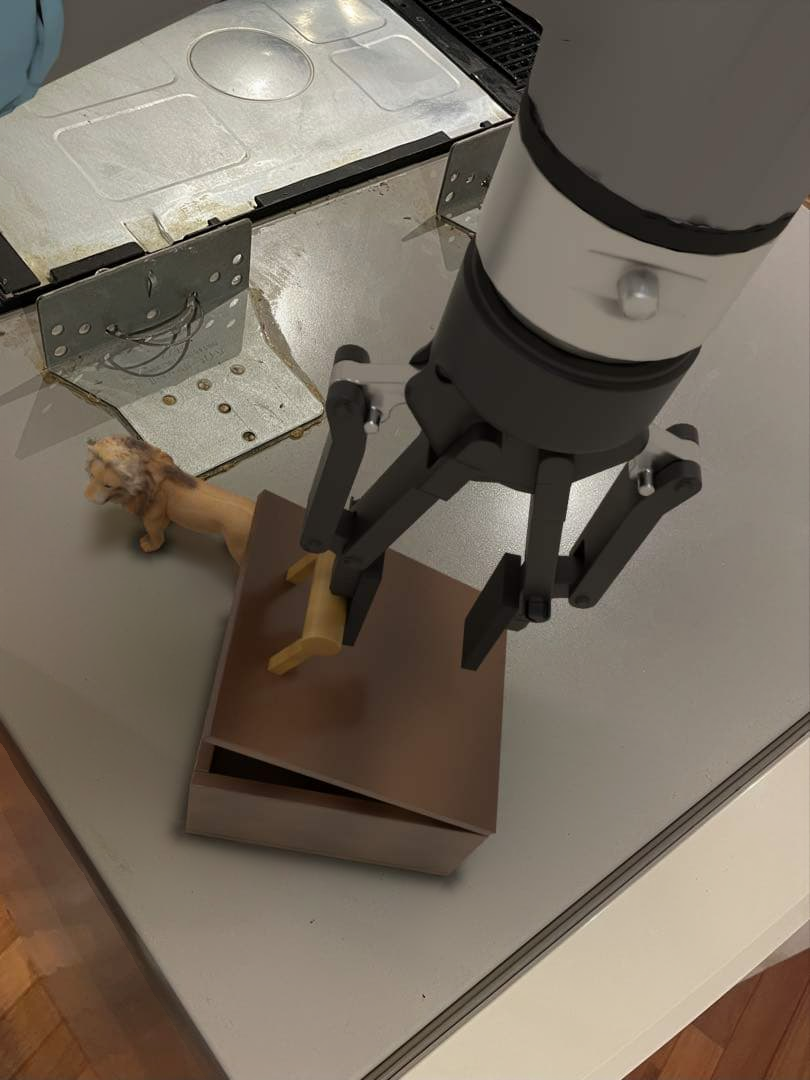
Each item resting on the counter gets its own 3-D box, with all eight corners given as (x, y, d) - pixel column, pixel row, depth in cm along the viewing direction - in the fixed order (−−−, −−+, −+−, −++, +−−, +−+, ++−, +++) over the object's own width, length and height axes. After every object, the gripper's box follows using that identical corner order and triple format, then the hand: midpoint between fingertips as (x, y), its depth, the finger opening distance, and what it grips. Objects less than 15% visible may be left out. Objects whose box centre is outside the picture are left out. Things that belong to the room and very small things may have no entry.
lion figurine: (76, 551, 65) (66, 472, 57) (104, 487, 68) (98, 404, 60) (294, 609, 66) (312, 539, 58) (312, 543, 69) (332, 469, 61)
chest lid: (200, 740, 44) (265, 702, 40) (257, 494, 52) (317, 440, 47) (486, 836, 51) (567, 812, 47) (500, 608, 59) (571, 570, 54)
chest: (184, 832, 57) (189, 785, 50) (232, 625, 64) (242, 557, 57) (447, 876, 59) (489, 837, 51) (463, 670, 66) (502, 609, 59)
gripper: (256, 290, 25) (204, 666, 45) (901, 448, 28) (589, 740, 47) (303, 117, 30) (237, 529, 49) (861, 267, 32) (589, 603, 51)
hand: (410, 632), depth 48 cm, fingers open, 5 cm apart
